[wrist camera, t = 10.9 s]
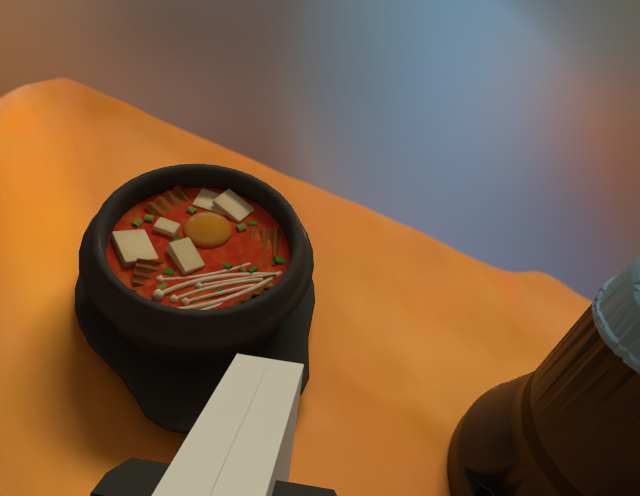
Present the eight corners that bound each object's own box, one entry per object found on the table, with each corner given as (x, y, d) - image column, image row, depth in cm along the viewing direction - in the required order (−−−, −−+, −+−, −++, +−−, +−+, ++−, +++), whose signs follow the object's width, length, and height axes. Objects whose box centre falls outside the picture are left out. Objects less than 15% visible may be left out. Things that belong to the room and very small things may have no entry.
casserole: (359, 408, 45) (388, 349, 38) (98, 480, 38) (82, 423, 32) (263, 184, 59) (273, 115, 53) (63, 208, 53) (47, 133, 46)
